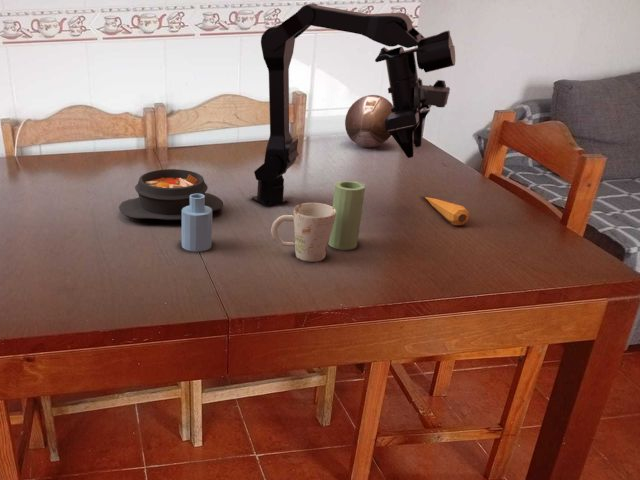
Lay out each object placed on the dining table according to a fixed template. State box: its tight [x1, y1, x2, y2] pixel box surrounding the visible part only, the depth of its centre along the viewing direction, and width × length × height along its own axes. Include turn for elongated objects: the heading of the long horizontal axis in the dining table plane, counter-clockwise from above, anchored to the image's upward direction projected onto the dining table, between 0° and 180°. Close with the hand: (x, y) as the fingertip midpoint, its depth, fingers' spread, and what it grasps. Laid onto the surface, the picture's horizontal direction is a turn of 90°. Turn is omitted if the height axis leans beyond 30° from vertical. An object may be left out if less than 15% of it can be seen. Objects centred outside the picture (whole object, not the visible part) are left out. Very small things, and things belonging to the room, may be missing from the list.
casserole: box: [118, 168, 224, 222], centre depth 164 cm, size 25×19×8 cm
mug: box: [270, 202, 336, 263], centre depth 142 cm, size 8×13×10 cm, turn 78°
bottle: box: [181, 194, 213, 253], centre depth 146 cm, size 6×6×11 cm
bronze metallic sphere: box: [344, 94, 393, 148], centre depth 210 cm, size 15×15×15 cm
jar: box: [328, 180, 366, 251], centre depth 146 cm, size 6×6×13 cm
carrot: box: [424, 196, 470, 226], centre depth 165 cm, size 20×4×4 cm, turn 6°
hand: (414, 151), depth 152 cm, fingers open, 9 cm apart
